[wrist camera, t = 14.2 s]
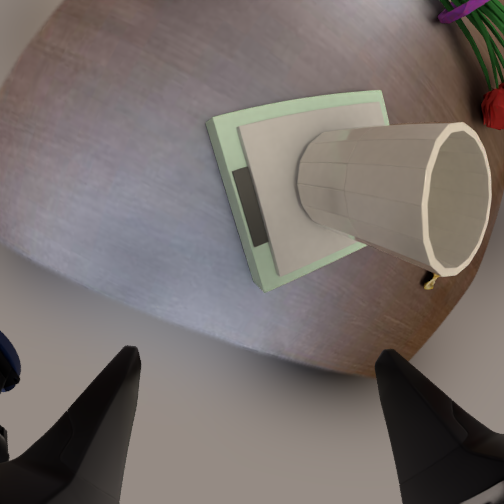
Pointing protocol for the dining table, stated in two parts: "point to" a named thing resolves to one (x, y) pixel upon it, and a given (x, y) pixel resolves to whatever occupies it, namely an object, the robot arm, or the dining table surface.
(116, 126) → the dining table surface
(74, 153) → the dining table surface
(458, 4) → the bouquet
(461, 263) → the cream faceted cup
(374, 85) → the dining table surface
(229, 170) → the scale
